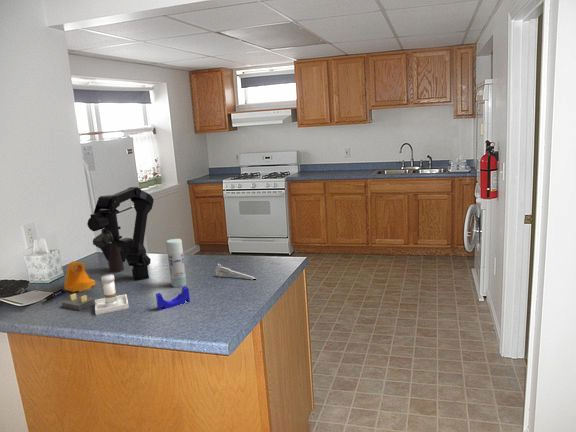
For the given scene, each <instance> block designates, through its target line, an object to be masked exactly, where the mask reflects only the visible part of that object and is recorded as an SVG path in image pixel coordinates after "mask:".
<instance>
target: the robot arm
mask: <svg viewBox="0 0 576 432" xmlns="http://www.w3.org/2000/svg"><path fill="white" fill-rule="evenodd" d="M128 200H130V201H131V202H132V203H133V208H134V210H135V212H136V214H135V220H134V227H133V233H132V234H133V235H132V237H123V236H122V235H120V230H121V226H119V223H118V222H119V221H118V216H117V214H119V213H120V211H119V210H118V209H117V208H119V207H120V206H121V205H120V204H121V203H124V202H126V201H128ZM153 205H154V197H152V195H151V194H149V192H146V191H144V190H142V189H141V188H140V187H138V186H133V187H132V186H131V187H127V189H124V190H122V191H119V192H117V193H115V194H108V195H101V196H100V195H99V197H98V198H97V201H96V204H95V208H94V211H93V213H91V214H90V217H89V218H88V220H87V223H86V224H87V227H88V228H89V230H90V231H92V232H97V231H101V233H100V234H98V235H97V236H95V237H94V238H93V239H92V244H93V246H95V247H96V248H99V249H100V250H101V252H102V253H103V255H104V258H105V259H106V261H108V260H110V247H111V244H117V246H118V247H119V248H117V249H118V250H119V251H120V254H121V259H122V262H123V263H125V262H127V264H128V266H129V267H132V268H131V274H132V279H134V281H141V280H144V279H145V280H146V279H150V276H149V270H148V266H149V265H150V264H151V258H150V257H149V256H148V255H147V250H146V247H145V246H144V244H145V235H146V229H147V220H148V214H149V213H150V212H151V211H152V210H153ZM115 241H116V242H115Z"/></svg>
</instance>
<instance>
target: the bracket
mask: <svg viewBox="0 0 576 432" xmlns="http://www.w3.org/2000/svg"><path fill="white" fill-rule="evenodd" d="M85 269H86V267H85V265H84V264H83V262H78V261H71V262H69V264H68V265H67V270H66V273H65V274H66V275H65V279H64V283H63V284H64V290H66V291H69V292H71V293H75V292H78V293H81V292H84V291H86V290H89V289H91V288H92V287H93V286H95V285H96V280H95V279H92V278H90V277H89V275H88V274H87V272H86V270H85Z"/></svg>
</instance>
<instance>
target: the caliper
mask: <svg viewBox="0 0 576 432" xmlns="http://www.w3.org/2000/svg"><path fill="white" fill-rule="evenodd" d="M223 274H225V275H228V276H229V275H231V276H232V275H233V276H236V277H239V278H243V279H245V280H249V279H256V278H255V277H254V276H252V275H248V274H246V273H242V272H239V271H236V270H232V269H230V268H228V267H224V266H222V264H220V263H217V265H216V266H215V276H216V277H219V278H222V277H223Z"/></svg>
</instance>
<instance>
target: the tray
mask: <svg viewBox="0 0 576 432" xmlns="http://www.w3.org/2000/svg"><path fill="white" fill-rule="evenodd" d="M116 297H117V300H118V305H117V306H112V307H107V308H106V307H105V297H103V298H98V299H97V298H96V300H95V304H94V311H95V315H96V316H99V315H104V314H108V313H110V314H111V313H114V312H121V311H124V310H129V309H130V306H129V301H128V295H127V294H126V293H125V294H120V295H116Z"/></svg>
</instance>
